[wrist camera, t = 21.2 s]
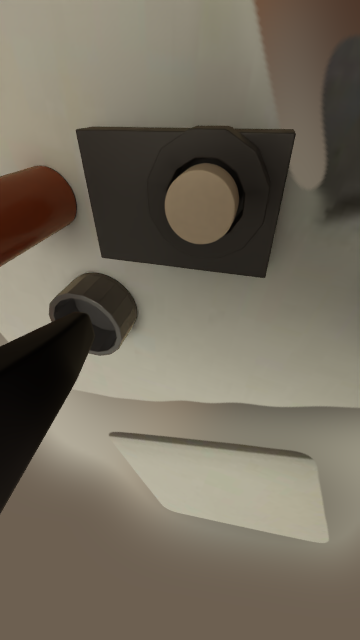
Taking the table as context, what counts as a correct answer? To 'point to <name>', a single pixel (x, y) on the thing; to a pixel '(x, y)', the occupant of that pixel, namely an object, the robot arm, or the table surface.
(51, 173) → the orange metal cylinder
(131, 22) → the table surface
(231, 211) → the release button
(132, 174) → the plate with ring holder
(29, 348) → the robot arm
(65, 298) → the capsule holder
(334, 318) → the table surface
